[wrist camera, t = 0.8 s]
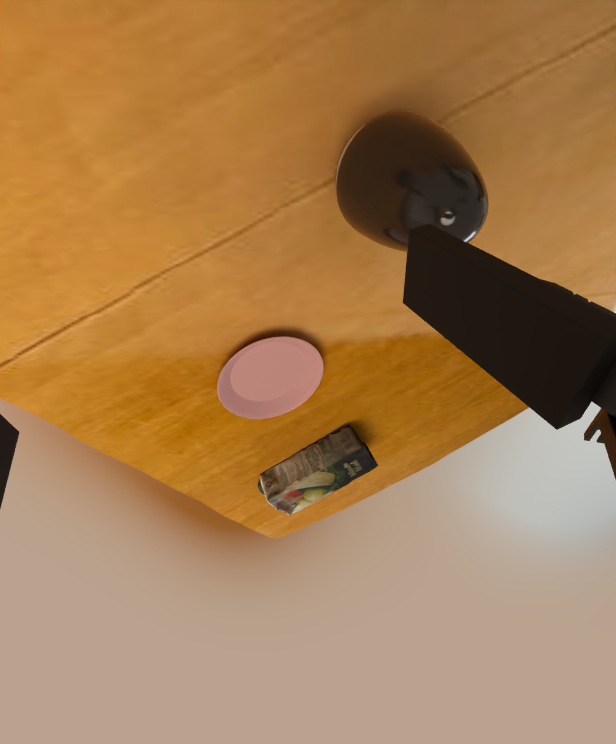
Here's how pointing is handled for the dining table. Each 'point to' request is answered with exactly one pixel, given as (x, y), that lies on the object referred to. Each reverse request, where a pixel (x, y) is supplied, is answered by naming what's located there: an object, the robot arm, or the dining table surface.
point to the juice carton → (316, 471)
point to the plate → (270, 377)
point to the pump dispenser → (409, 181)
